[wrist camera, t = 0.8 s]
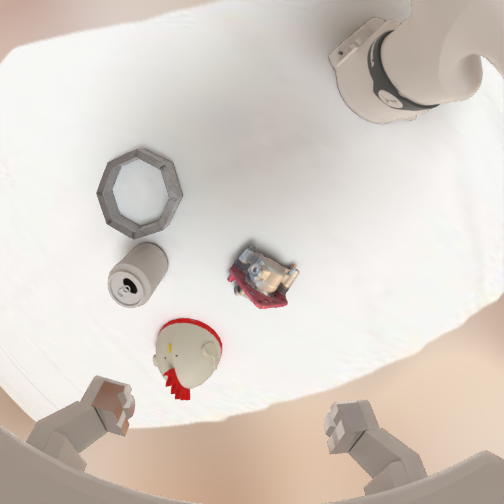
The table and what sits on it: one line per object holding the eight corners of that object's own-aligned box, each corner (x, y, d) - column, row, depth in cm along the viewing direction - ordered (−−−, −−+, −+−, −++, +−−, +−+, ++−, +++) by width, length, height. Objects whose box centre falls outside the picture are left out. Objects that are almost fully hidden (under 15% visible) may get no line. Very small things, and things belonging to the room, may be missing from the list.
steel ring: (126, 139, 41) (117, 139, 37) (194, 174, 43) (189, 175, 40) (99, 209, 45) (89, 213, 42) (160, 243, 47) (153, 250, 44)
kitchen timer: (205, 310, 52) (191, 363, 38) (232, 360, 57) (227, 413, 43) (148, 326, 54) (123, 374, 40) (177, 371, 59) (163, 420, 45)
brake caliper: (210, 293, 48) (227, 288, 37) (238, 241, 52) (261, 222, 41) (264, 322, 50) (294, 324, 39) (287, 271, 54) (321, 261, 43)
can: (177, 265, 49) (157, 298, 38) (149, 285, 50) (126, 319, 39) (151, 233, 47) (123, 258, 36) (125, 255, 48) (95, 284, 37)
